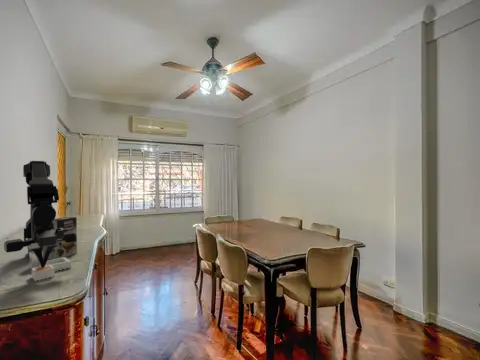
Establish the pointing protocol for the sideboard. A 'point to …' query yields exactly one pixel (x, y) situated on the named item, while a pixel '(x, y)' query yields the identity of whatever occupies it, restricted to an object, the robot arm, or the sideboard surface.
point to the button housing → (43, 273)
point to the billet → (33, 259)
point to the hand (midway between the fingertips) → (43, 266)
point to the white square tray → (59, 263)
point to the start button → (42, 267)
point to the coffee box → (63, 247)
